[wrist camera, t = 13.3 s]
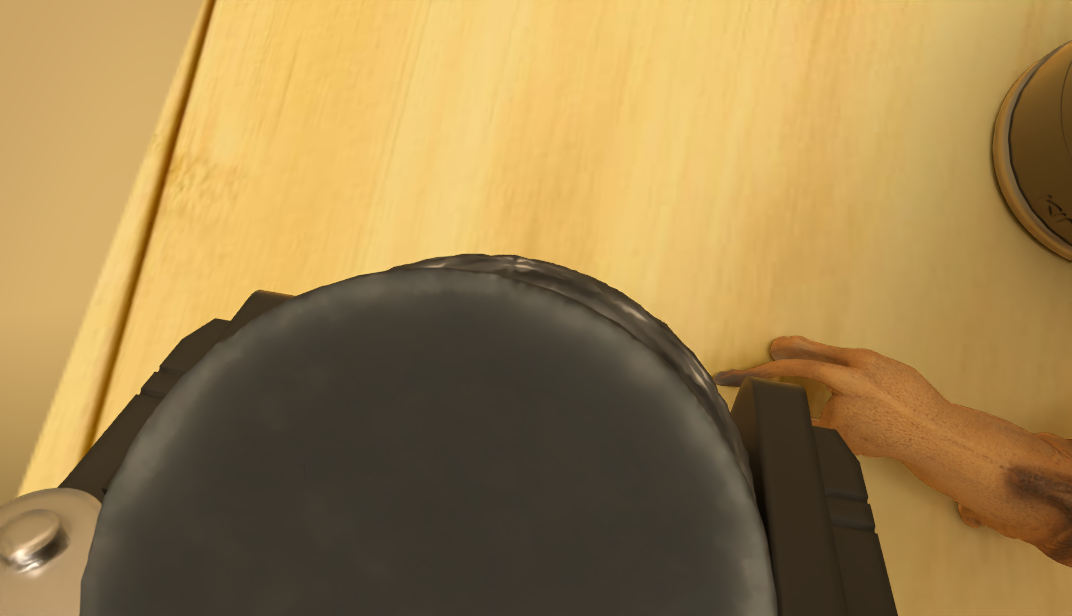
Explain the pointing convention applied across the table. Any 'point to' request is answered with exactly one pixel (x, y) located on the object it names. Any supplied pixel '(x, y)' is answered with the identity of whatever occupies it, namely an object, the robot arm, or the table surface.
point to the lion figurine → (938, 440)
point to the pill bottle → (438, 462)
